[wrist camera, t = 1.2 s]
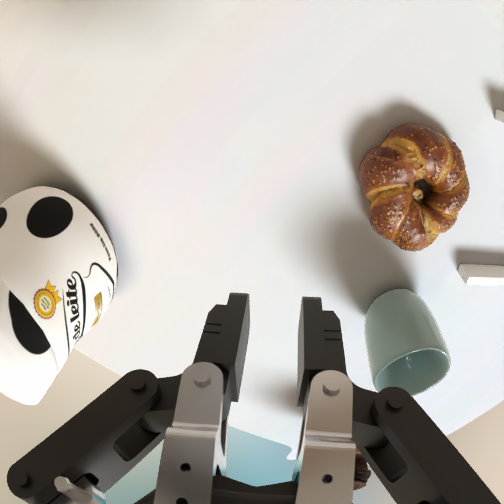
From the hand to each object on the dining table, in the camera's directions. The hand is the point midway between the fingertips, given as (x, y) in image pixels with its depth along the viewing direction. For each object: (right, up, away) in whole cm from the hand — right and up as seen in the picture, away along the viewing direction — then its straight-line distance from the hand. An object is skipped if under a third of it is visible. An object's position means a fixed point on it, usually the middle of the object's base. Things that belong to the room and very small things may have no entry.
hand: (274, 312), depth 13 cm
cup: (+15, -4, +21) cm, 26 cm away
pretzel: (+14, +9, +14) cm, 21 cm away
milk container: (-23, +3, +21) cm, 31 cm away
